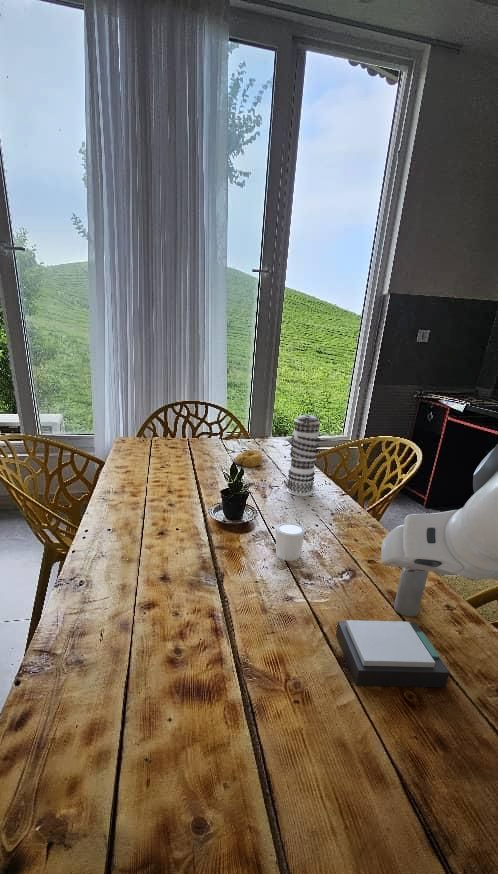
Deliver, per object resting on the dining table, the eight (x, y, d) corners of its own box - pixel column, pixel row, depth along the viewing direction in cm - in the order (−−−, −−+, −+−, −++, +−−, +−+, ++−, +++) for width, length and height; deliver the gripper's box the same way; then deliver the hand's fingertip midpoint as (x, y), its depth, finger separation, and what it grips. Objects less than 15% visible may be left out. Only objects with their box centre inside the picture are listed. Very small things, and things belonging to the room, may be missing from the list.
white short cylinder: (304, 562, 103) (307, 535, 100) (274, 561, 103) (277, 534, 100) (299, 548, 109) (302, 523, 107) (272, 547, 109) (274, 521, 107)
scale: (412, 636, 80) (417, 618, 78) (445, 687, 69) (451, 667, 67) (335, 634, 79) (338, 616, 78) (355, 685, 68) (360, 665, 67)
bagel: (232, 460, 178) (232, 448, 176) (259, 460, 179) (260, 448, 177) (235, 467, 169) (236, 455, 167) (264, 467, 170) (265, 455, 168)
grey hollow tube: (399, 600, 90) (409, 555, 86) (422, 610, 87) (433, 564, 83) (389, 609, 87) (399, 563, 83) (412, 620, 84) (423, 573, 80)
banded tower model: (319, 493, 146) (329, 417, 137) (299, 498, 141) (308, 420, 132) (300, 484, 153) (308, 412, 144) (279, 489, 148) (287, 414, 139)
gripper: (560, 530, 57) (508, 560, 70) (395, 512, 61) (374, 544, 73) (567, 578, 55) (512, 600, 67) (394, 556, 58) (372, 581, 71)
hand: (439, 571), depth 70 cm, fingers open, 8 cm apart
